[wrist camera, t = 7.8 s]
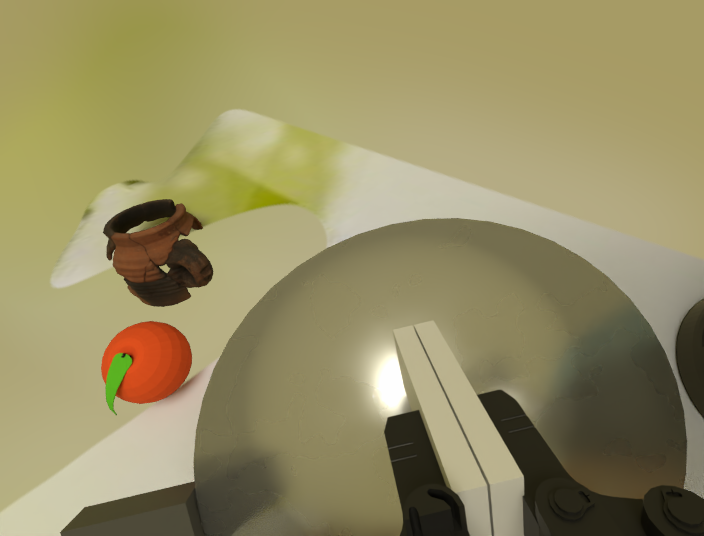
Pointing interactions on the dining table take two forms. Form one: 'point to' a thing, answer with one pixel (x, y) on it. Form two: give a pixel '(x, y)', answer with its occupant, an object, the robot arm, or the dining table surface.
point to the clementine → (145, 363)
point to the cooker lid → (388, 391)
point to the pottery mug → (157, 253)
